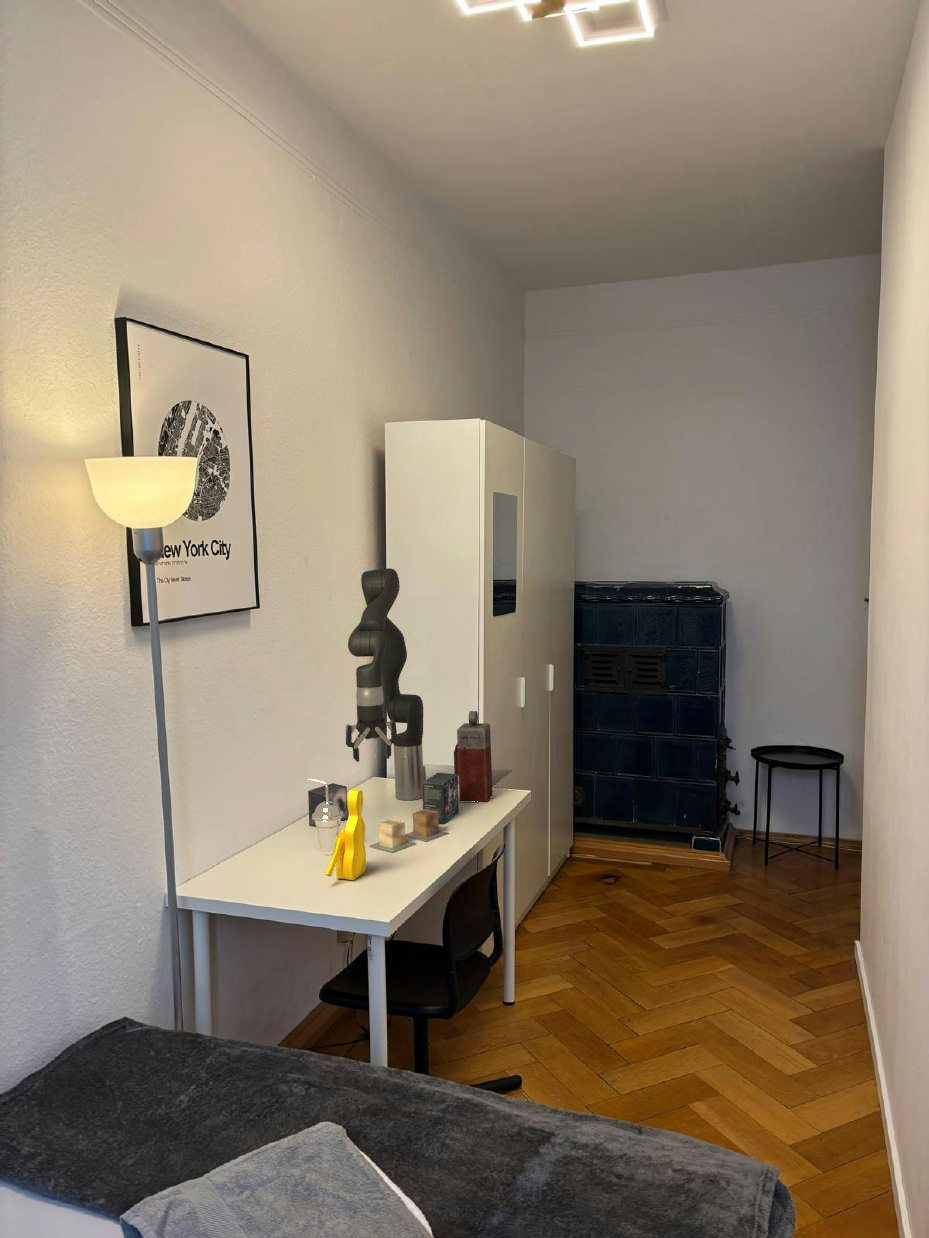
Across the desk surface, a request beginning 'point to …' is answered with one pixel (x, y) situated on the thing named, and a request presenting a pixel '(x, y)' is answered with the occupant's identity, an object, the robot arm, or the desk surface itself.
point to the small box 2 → (441, 795)
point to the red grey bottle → (473, 760)
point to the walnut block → (425, 823)
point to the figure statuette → (350, 842)
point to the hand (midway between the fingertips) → (372, 759)
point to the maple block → (392, 833)
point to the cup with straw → (327, 822)
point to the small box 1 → (335, 795)
